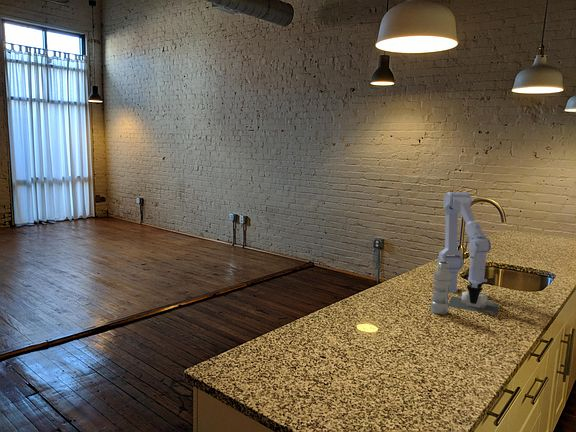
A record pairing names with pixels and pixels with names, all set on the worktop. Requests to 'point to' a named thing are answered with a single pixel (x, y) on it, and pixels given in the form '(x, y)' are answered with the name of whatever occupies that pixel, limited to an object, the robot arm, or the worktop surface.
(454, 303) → the rubber mat
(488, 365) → the worktop surface
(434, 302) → the plastic bottle
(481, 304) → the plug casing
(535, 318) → the worktop surface
